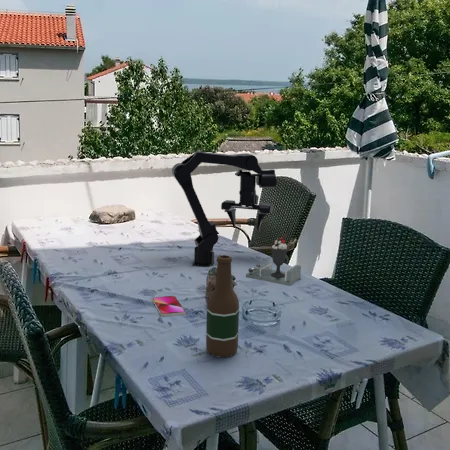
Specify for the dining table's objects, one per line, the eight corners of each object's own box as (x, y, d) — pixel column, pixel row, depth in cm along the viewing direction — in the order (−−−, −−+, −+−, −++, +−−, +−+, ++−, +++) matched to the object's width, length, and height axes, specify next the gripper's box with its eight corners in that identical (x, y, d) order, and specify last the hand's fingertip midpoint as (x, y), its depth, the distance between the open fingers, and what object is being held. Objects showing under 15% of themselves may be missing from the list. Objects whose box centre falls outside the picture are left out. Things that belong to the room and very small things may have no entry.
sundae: (289, 278, 188) (291, 235, 185) (270, 278, 188) (272, 235, 185) (285, 272, 195) (287, 231, 192) (267, 272, 194) (268, 231, 191)
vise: (245, 276, 192) (246, 264, 191) (258, 269, 200) (258, 257, 199) (289, 285, 184) (290, 272, 183) (300, 277, 193) (301, 265, 192)
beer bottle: (205, 344, 138) (206, 252, 132) (236, 344, 138) (239, 252, 133) (206, 358, 130) (208, 261, 125) (239, 358, 131) (242, 261, 125)
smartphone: (174, 295, 170) (186, 312, 157) (174, 298, 171) (186, 315, 157) (151, 297, 168) (161, 314, 154) (151, 300, 168) (161, 318, 154)
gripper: (277, 186, 208) (275, 227, 211) (230, 183, 213) (228, 222, 217) (270, 191, 198) (268, 233, 201) (221, 187, 203) (220, 228, 206)
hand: (246, 229), depth 206 cm, fingers open, 9 cm apart
